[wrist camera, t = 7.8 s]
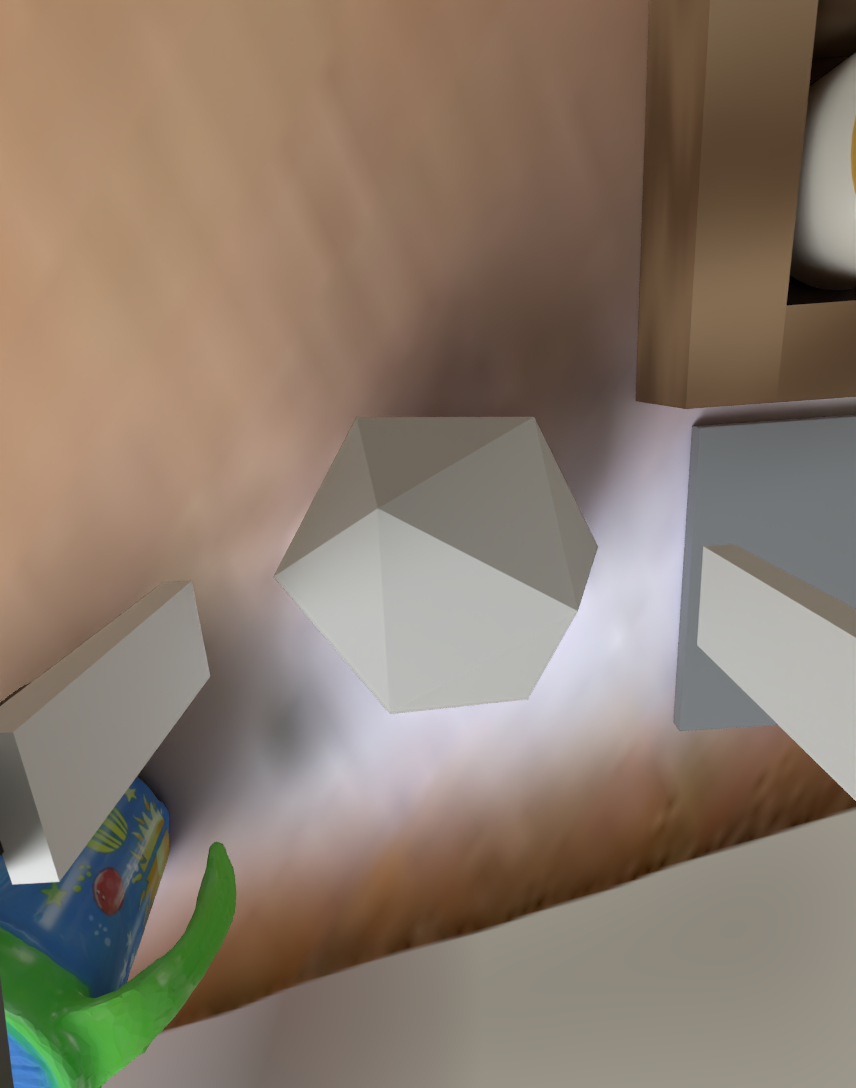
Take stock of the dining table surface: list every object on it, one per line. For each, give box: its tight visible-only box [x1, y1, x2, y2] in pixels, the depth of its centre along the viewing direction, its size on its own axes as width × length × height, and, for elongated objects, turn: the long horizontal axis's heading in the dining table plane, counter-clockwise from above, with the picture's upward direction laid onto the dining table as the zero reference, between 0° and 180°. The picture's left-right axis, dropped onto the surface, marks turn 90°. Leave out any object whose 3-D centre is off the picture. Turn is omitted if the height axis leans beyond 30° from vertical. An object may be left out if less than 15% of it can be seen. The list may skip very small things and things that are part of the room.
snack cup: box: [0, 777, 236, 1088], centre depth 20 cm, size 16×10×10 cm
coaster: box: [674, 415, 856, 731], centre depth 21 cm, size 12×12×1 cm
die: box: [274, 417, 598, 714], centre depth 17 cm, size 8×9×10 cm
